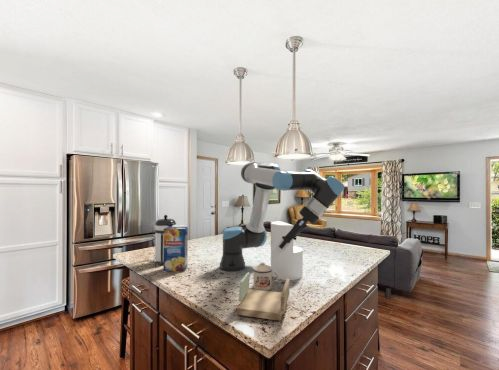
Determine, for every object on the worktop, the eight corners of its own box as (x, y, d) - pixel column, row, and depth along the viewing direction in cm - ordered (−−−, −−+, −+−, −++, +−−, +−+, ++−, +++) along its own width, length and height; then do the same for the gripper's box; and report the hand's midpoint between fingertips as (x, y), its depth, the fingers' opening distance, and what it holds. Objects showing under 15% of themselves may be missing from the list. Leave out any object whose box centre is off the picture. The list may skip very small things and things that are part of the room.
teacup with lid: (253, 291, 113) (253, 265, 114) (252, 283, 122) (252, 260, 123) (279, 291, 114) (279, 265, 114) (276, 283, 123) (276, 259, 123)
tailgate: (248, 290, 105) (250, 272, 105) (241, 301, 94) (242, 281, 94) (245, 289, 105) (246, 271, 105) (237, 301, 95) (238, 281, 95)
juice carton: (163, 271, 140) (163, 228, 141) (167, 267, 148) (167, 226, 148) (184, 271, 141) (185, 228, 141) (187, 267, 148) (187, 226, 149)
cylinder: (277, 281, 126) (277, 225, 126) (266, 270, 142) (266, 221, 143) (308, 278, 130) (308, 224, 131) (294, 268, 147) (294, 220, 148)
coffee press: (181, 258, 166) (181, 213, 167) (171, 266, 150) (172, 216, 151) (156, 258, 168) (157, 213, 168) (144, 265, 152) (144, 215, 153)
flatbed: (289, 300, 104) (289, 278, 104) (284, 322, 86) (284, 296, 87) (249, 296, 108) (249, 275, 108) (236, 316, 91) (236, 291, 91)
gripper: (319, 218, 85) (279, 264, 88) (321, 216, 109) (290, 253, 111) (301, 204, 88) (264, 249, 90) (307, 205, 111) (277, 241, 114)
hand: (278, 251), depth 101 cm, fingers open, 13 cm apart
